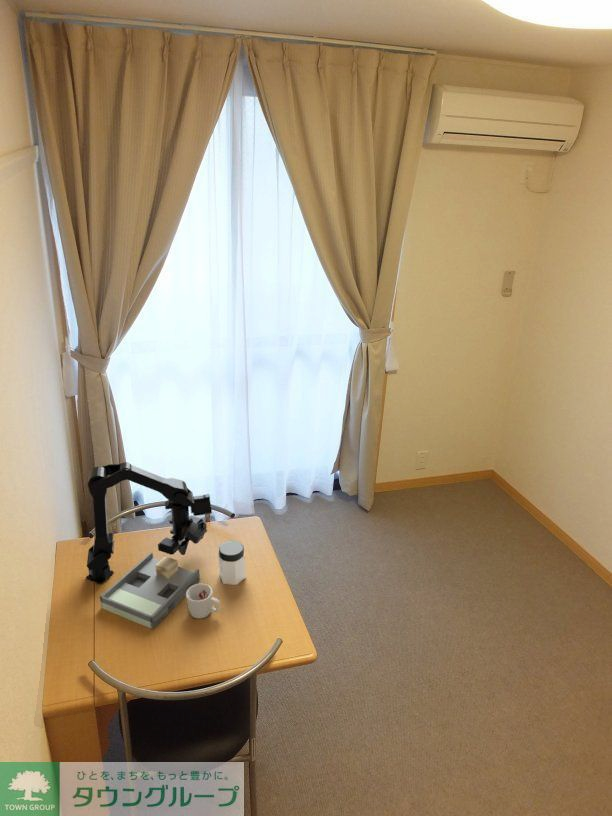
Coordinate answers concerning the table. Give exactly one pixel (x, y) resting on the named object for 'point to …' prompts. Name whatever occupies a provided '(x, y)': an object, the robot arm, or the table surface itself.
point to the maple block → (166, 567)
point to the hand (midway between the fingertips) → (183, 554)
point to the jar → (231, 562)
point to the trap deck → (147, 592)
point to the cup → (201, 600)
